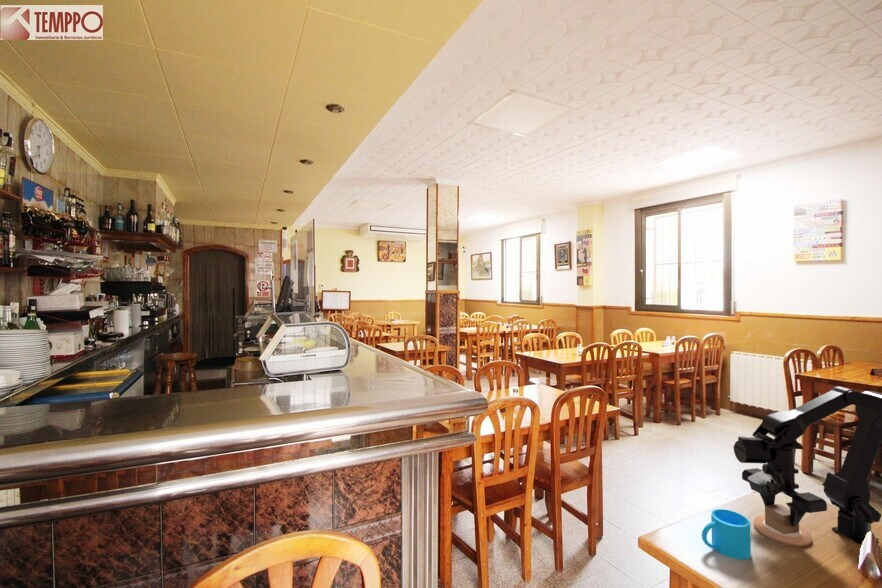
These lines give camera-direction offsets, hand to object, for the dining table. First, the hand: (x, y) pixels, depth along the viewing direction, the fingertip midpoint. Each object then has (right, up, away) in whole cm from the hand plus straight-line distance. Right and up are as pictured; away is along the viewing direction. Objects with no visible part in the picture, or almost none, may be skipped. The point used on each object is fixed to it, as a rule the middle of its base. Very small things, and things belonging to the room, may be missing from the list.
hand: (781, 519), depth 108 cm
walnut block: (0, -2, 0) cm, 2 cm away
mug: (-20, -4, -6) cm, 22 cm away
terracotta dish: (0, -4, 0) cm, 4 cm away
